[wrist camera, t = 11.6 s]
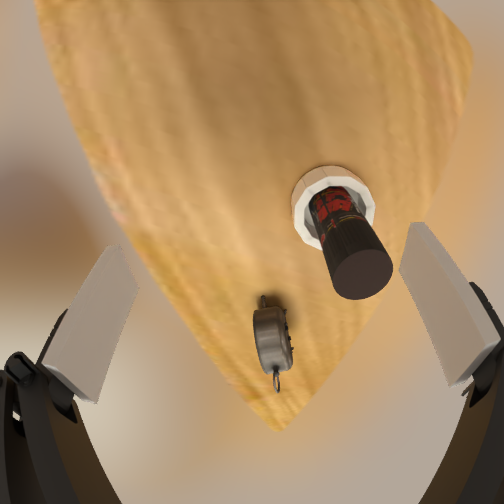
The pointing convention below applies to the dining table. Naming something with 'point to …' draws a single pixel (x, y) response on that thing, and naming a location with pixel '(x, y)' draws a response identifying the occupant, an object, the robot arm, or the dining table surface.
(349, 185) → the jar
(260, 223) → the dining table surface
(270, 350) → the alarm clock
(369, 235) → the deodorant
